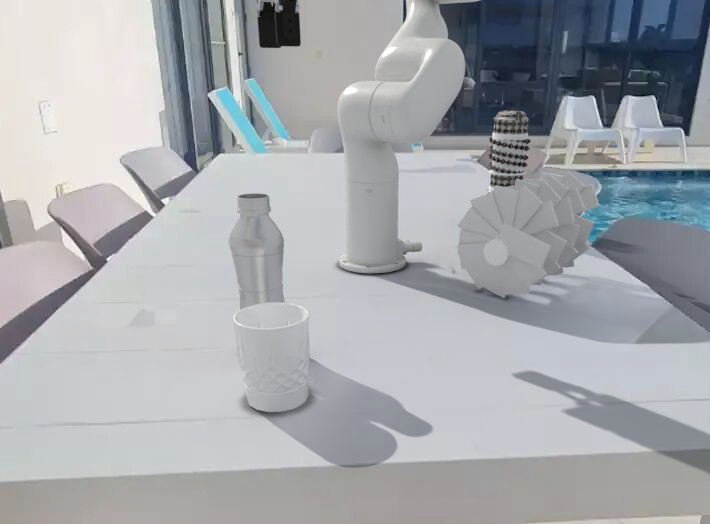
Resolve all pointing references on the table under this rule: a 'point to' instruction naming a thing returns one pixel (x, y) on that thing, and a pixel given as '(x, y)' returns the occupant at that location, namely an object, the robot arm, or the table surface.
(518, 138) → the decorative candle
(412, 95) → the robot arm
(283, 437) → the table surface
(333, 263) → the table surface
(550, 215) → the spiral staircase
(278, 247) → the plastic bottle
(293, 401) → the white cup
